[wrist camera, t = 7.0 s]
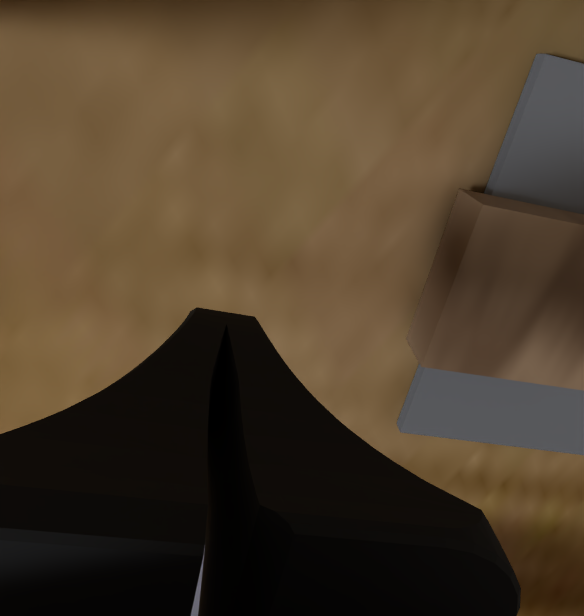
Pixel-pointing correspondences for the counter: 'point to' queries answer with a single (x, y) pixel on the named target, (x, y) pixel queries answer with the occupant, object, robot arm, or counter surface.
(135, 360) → the counter surface
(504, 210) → the slab
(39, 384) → the counter surface
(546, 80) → the mat
